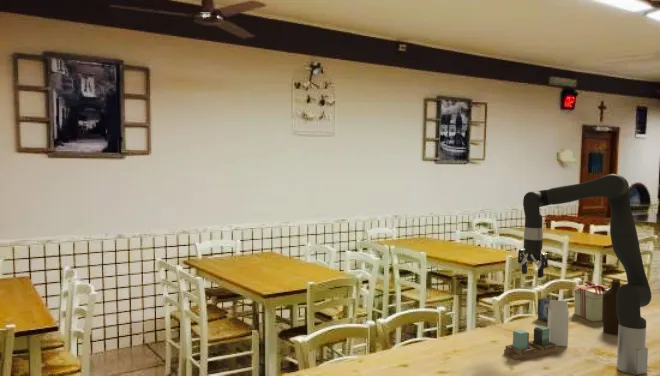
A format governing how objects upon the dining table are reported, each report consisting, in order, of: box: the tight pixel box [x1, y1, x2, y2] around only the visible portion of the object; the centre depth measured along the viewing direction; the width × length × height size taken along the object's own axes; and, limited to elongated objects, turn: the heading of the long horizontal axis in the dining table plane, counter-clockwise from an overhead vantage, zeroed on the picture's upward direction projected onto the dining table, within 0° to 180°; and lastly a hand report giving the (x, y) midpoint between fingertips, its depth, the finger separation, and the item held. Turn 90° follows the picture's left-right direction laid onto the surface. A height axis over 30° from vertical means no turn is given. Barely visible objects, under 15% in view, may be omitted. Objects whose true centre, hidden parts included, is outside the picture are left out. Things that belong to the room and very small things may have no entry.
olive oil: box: [602, 278, 621, 336], centre depth 259 cm, size 11×11×25 cm
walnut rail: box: [503, 325, 559, 361], centre depth 230 cm, size 8×22×10 cm, turn 117°
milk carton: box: [547, 299, 570, 347], centre depth 242 cm, size 7×7×19 cm
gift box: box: [573, 281, 611, 322], centre depth 284 cm, size 17×18×17 cm
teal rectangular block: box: [512, 329, 530, 351], centre depth 227 cm, size 4×5×8 cm
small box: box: [537, 297, 554, 323], centre depth 277 cm, size 11×6×10 cm, turn 25°
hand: (532, 275), depth 239 cm, fingers open, 8 cm apart
